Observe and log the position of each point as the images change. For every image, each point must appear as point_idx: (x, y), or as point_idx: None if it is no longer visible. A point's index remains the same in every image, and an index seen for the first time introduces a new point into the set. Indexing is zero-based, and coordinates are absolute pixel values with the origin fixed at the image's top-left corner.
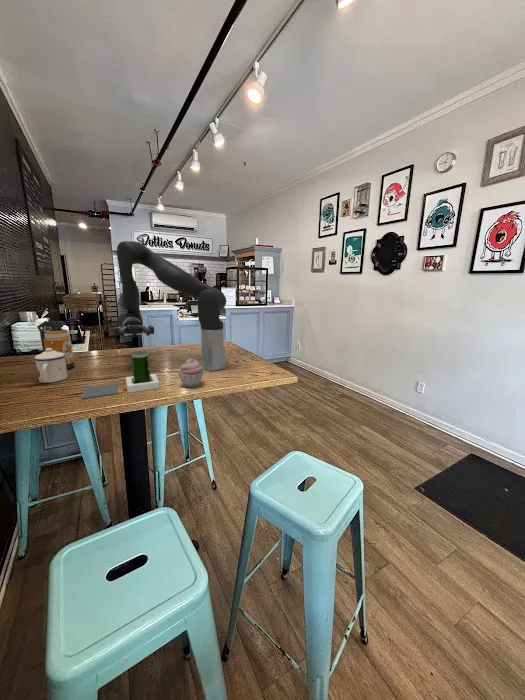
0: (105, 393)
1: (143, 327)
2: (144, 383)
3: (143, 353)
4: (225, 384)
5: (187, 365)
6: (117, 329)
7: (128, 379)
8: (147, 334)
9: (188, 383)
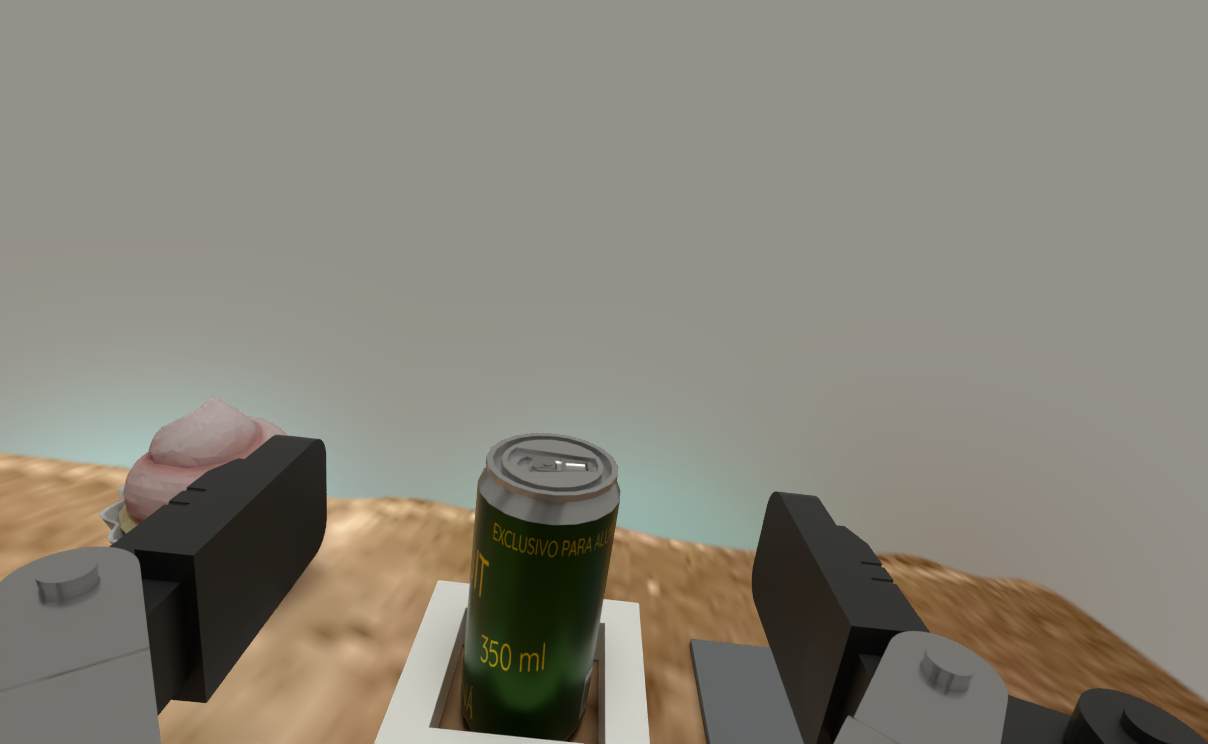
0: (762, 662)
1: (143, 658)
2: None
3: (530, 441)
4: (78, 504)
5: (275, 425)
6: (1074, 715)
7: (629, 722)
8: (318, 510)
9: None
